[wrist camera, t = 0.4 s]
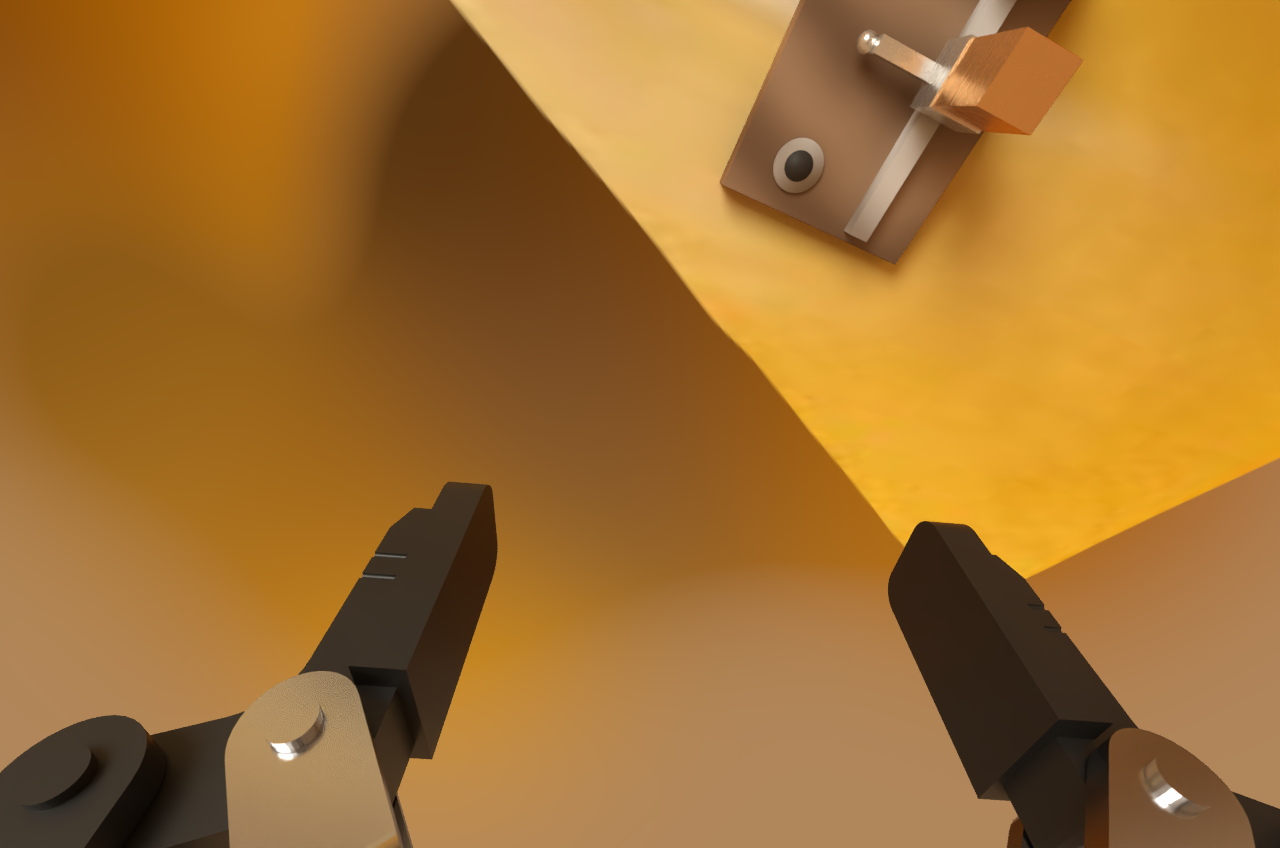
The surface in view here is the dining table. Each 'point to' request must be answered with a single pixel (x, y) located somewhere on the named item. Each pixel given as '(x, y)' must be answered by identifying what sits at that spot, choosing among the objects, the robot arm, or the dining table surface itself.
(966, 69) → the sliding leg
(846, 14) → the brown slider base
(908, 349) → the dining table surface
